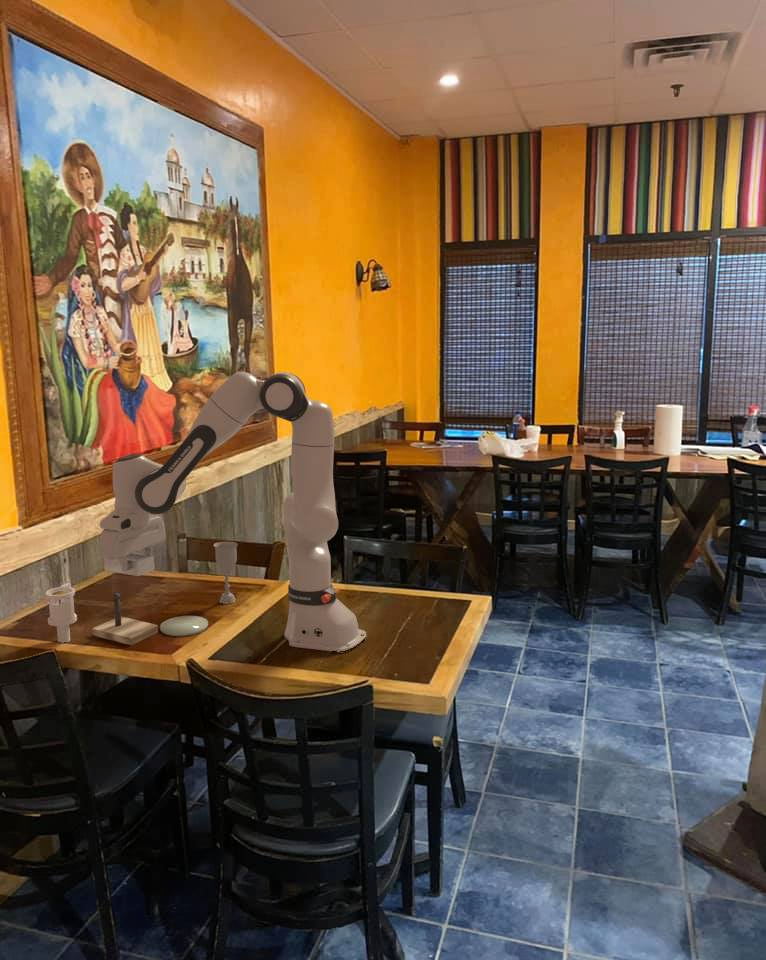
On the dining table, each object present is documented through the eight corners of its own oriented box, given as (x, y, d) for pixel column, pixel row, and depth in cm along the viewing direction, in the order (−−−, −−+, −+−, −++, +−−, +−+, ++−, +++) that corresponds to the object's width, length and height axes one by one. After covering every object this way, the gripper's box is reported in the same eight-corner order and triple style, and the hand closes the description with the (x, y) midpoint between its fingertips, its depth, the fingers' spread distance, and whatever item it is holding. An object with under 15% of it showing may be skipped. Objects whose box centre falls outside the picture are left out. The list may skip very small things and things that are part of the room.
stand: (158, 631, 209) (156, 593, 206) (131, 645, 200) (128, 604, 198) (120, 622, 215) (117, 585, 212) (92, 635, 206) (89, 596, 204)
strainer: (84, 637, 205) (80, 584, 202) (66, 647, 198) (62, 592, 195) (62, 634, 207) (57, 581, 204) (43, 644, 200) (39, 590, 197)
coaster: (217, 623, 215) (217, 620, 215) (186, 639, 204) (186, 636, 203) (181, 615, 221) (181, 612, 220) (149, 630, 209) (149, 628, 209)
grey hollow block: (154, 569, 204) (153, 555, 203) (138, 576, 198) (137, 561, 198) (121, 563, 209) (120, 549, 208) (104, 569, 204) (103, 555, 203)
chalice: (242, 597, 235) (240, 542, 232) (236, 605, 229) (234, 548, 225) (219, 596, 236) (217, 541, 232) (212, 604, 229) (210, 547, 226)
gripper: (151, 506, 210) (155, 554, 213) (94, 523, 192) (98, 575, 195) (169, 508, 207) (172, 557, 210) (112, 526, 189) (117, 579, 192)
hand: (136, 566), depth 202 cm, fingers closed on grey hollow block, 6 cm apart
